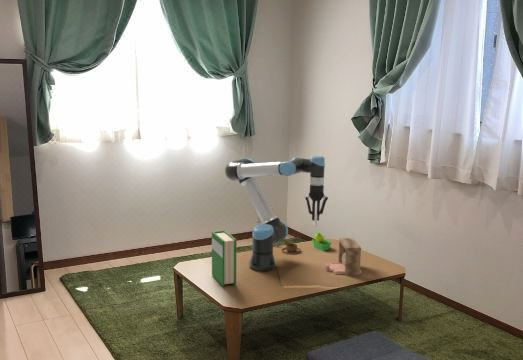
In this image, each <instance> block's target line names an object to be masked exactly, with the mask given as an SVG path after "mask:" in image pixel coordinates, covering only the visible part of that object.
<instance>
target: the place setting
mask: <svg viewBox="0 0 523 360" xmlns="http://www.w3.org/2000/svg"><path fill="white" fill-rule="evenodd" d="M275 246H276V244H275V245H273V247H275ZM284 250H285V251H284ZM296 251H297V252H296ZM281 252H282V253H283V254H285V255H298V254H300V253H301V252H302V250H301V248H299V247H298V245H297V244H296V243H290V242H289V243H286V244H285V247H282V248H281Z"/></svg>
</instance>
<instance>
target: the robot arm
mask: <svg viewBox="0 0 523 360" xmlns="http://www.w3.org/2000/svg"><path fill="white" fill-rule="evenodd" d="M325 167H326V163H325V157H324V156H320V155H312V156H310V158H309V159H308V158H302V157H301V158H300V157H292V158H291V160H286V161H285V160H283V161H270V162H255V161H254V160H253V159H250V158H241V159H237V160H231V161H230V162H228V163H227V165H226V166H225V168H224V171H225V176H226V177H227V178H228V179H229V180H231V181H234V182H235V181H238V182H239V185H241V186H242V187H244V188H245V191H246V193H247V195H248V197H249V199H250V201H251V203H252V205H253V208H254V209H255V211H256V214H257V215H258V218H259V219H260V221H261V224H258V225H257V224H256V225H255V226H254V227H253V229H252V235H251V236H252V253H251V257H250V260H249V263H248V264H249V265H248V267H249V269H251V270H254V271H260V272H267V271H268V272H269V271H273V270H274V269H276V266H277V264H276V263H277V262H276V259H275V255H274V246H273V245H275V246H276V244H278V243H282V242H283V241H284V240H285V239H287V237H288V234H289V228H288V226H287V224H286V223H285V222H283V221H281V220H280V217H279V216H276V215H275V213H274V211H273V209H272V207H271V205H270V203H269V201H268V199H267V197H266V195H265V193H264V191H263V189H262V187H261V185H260V183H259V181H258V177H259V178H260V177H272V176H273V177H275V176H277V177H278V176H285V177H289V176H290V177H291V176H293V175H296V174H300V173H307V174H310V177H309V184H310V185H309V193H308V195H305V196H304V199H305V201H306V205H307V206H306V207H307V209H308V210H307V211H308V213H309V214H310V215H311V220H312V222H313V227H314V228H316V227H317V226H318V221H320V215H323V213H324V211H325V210H324V209H325V206H326V202H327V201H328V200H329V197H328V196H326V195H325V194H324V189H325V188H324V187H325V186H324V184H325ZM310 200H312V201H311V202H312V203H310ZM321 200H322V203H321Z"/></svg>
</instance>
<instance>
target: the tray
mask: <svg viewBox="0 0 523 360" xmlns="http://www.w3.org/2000/svg"><path fill="white" fill-rule="evenodd" d="M324 269H325V271H326V272H333V273H334V275H345V265H343V263H342V262H339V263H338V262H329V263H327V262H325V263H324ZM360 275H362V270H361V269H360Z"/></svg>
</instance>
